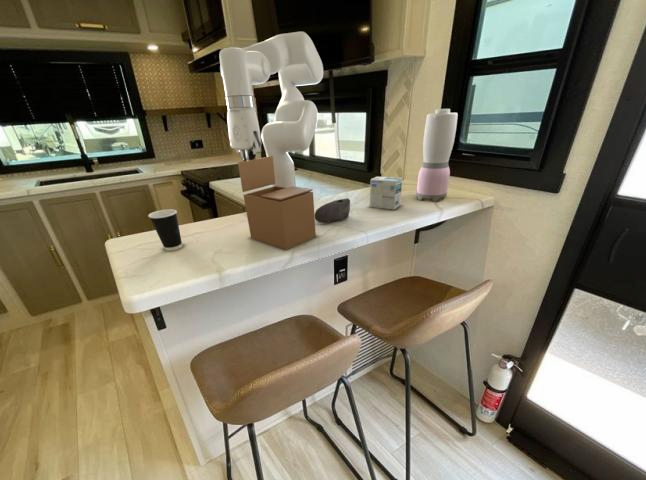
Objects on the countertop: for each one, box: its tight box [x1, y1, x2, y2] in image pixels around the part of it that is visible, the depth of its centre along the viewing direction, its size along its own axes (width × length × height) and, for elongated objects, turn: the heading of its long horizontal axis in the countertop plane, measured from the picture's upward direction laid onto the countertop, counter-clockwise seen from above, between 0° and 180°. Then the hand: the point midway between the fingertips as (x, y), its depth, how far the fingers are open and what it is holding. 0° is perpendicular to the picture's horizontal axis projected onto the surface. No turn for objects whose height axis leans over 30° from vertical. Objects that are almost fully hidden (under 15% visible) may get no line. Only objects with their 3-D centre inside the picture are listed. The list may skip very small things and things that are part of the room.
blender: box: [415, 108, 459, 202], centre depth 124 cm, size 16×12×32 cm
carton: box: [242, 186, 317, 251], centre depth 96 cm, size 17×13×15 cm
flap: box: [237, 156, 275, 193], centre depth 95 cm, size 8×13×1 cm
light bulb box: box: [369, 176, 403, 210], centre depth 121 cm, size 11×7×11 cm, turn 58°
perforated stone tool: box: [314, 197, 351, 224], centre depth 110 cm, size 15×5×7 cm, turn 116°
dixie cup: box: [147, 208, 183, 251], centre depth 95 cm, size 8×8×11 cm
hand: (250, 173), depth 96 cm, fingers closed
